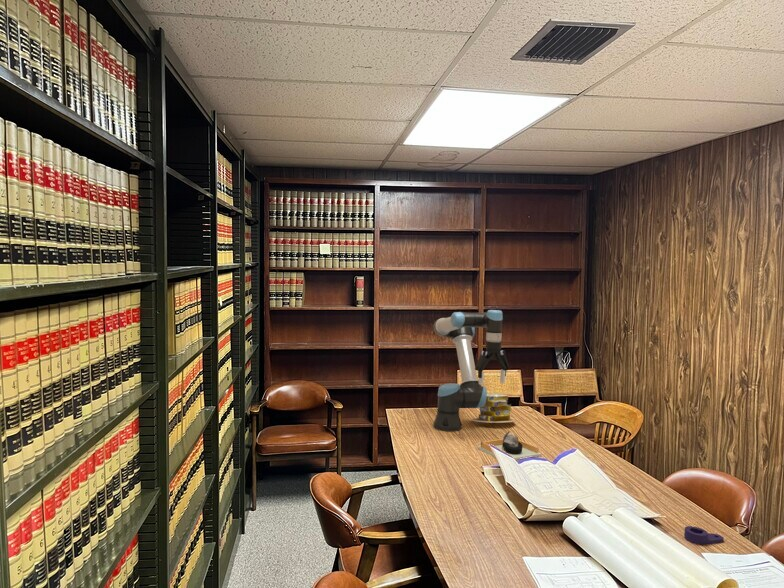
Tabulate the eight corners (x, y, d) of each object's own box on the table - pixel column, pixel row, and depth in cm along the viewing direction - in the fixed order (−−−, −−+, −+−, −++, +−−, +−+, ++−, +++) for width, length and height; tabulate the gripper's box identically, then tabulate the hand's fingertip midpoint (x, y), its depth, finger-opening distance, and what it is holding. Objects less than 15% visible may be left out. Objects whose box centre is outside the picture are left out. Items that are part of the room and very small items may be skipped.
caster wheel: (517, 460, 237) (496, 452, 243) (526, 449, 246) (506, 442, 252) (519, 447, 235) (498, 440, 241) (528, 437, 244) (508, 429, 250)
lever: (693, 546, 161) (693, 535, 161) (679, 536, 167) (680, 526, 167) (729, 545, 162) (729, 535, 162) (714, 535, 168) (715, 525, 168)
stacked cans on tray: (464, 418, 306) (465, 389, 306) (503, 417, 312) (505, 389, 311) (480, 429, 282) (482, 399, 282) (523, 428, 288) (524, 398, 287)
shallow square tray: (477, 448, 248) (478, 441, 248) (511, 443, 258) (512, 436, 258) (506, 462, 230) (506, 453, 230) (541, 456, 241) (541, 448, 240)
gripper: (478, 342, 251) (476, 386, 252) (517, 341, 263) (516, 383, 264) (468, 340, 258) (467, 383, 258) (507, 339, 270) (506, 380, 270)
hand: (491, 383), depth 261 cm, fingers open, 13 cm apart
